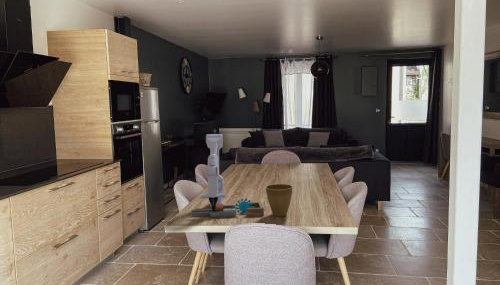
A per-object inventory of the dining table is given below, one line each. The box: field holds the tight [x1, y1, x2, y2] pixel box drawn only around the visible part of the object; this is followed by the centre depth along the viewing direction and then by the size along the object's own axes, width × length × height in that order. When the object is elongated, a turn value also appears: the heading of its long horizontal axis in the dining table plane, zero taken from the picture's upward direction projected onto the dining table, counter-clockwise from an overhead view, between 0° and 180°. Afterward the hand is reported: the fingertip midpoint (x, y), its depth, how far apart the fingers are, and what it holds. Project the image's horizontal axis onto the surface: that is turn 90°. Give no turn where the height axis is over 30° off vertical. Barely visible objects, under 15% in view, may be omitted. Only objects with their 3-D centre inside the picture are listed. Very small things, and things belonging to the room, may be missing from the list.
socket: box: [190, 204, 237, 219], centre depth 213 cm, size 14×25×3 cm, turn 95°
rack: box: [246, 201, 265, 217], centre depth 215 cm, size 14×10×4 cm
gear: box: [234, 197, 254, 215], centre depth 216 cm, size 11×6×10 cm
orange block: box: [215, 203, 237, 212], centre depth 214 cm, size 4×11×5 cm, turn 95°
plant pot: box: [265, 183, 293, 217], centre depth 209 cm, size 15×15×16 cm
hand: (213, 210), depth 213 cm, fingers closed
